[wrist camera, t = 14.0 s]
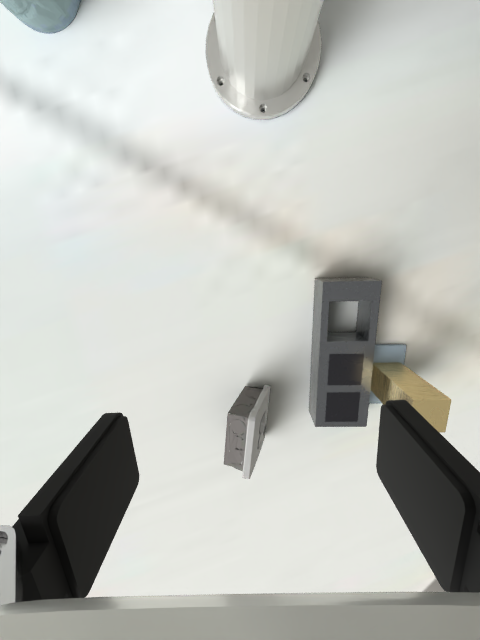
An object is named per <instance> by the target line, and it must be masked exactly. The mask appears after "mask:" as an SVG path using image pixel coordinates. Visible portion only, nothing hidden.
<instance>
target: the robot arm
mask: <svg viewBox="0 0 480 640" xmlns="http://www.w3.org/2000/svg"><path fill="white" fill-rule="evenodd" d="M323 2H324V0H213V7H214V13H213V16H212V18H211V21H210V24H209V27H208V32H207V37H206V60H207V67H208V71H209V75H210V78H211V81H212V83H213V86H214V88H215V90H216V92H217V93H218V95H219V97H220V98H221V99H222V100H223V102H224V103H225V104H226V105H227V106H228V107H229V108H231V109H232V110H233V111H235V112H236V113H238V114H240V115H242V116H244V117H247V118H251V119H257V120H266V119H271V118H276V117H278V116H280V115H283V114H285V113H287V112H288V111H289V110H291V109H292V108H294V107H295V106H296V105H297V104H298V103H299V102H300V101H301V100H302V99H303V97H304V96H305V94H306V93H307V92H308V90H309V88H310V86H311V84H312V82H313V80H314V78H315V75H316V72H317V69H318V66H319V61H320V56H321V33H320V26H319V23H318V18H319V15H320V12H321V8H322V5H323ZM304 80H306V81H307V82H304ZM220 84H223V85H221V86H220ZM261 110H264V111H265V112H264V113H263V112H261ZM376 467H377V473H378V476H379V478H380V479H381V481H382V483H383V485H384V487H385V488H386V490H387V492H388V494H389V495H390V497H391V499H392V501H393V502H394V504H395V506H396V508H397V509H398V511H399V513H400V515H401V517H402V518H403V520H404V522H405V524H406V525H407V527H408V529H409V531H410V532H411V534H412V536H413V538H414V539H415V541H416V543H417V545H418V547H419V548H420V550H421V552H422V554H423V555H424V557H425V559H426V561H427V562H428V564H429V566H430V568H431V569H432V571H433V573H434V575H435V577H436V578H437V580H438V582H439V584H440V585H441V587H442V588H443V589H444V590H445V591H446V592H353V593H275V594H216V595H168V596H125V597H92V598H85V597H86V596H87V595H88V593H89V591H90V589H91V587H92V585H93V583H94V581H95V578H96V576H97V574H98V572H99V569H100V567H101V565H102V563H103V561H104V558H105V556H106V554H107V552H108V550H109V547H110V545H111V543H112V541H113V539H114V536H115V534H116V532H117V530H118V528H119V525H120V523H121V521H122V519H123V517H124V514H125V512H126V510H127V508H128V506H129V503H130V501H131V499H132V497H133V494H134V492H135V490H136V488H137V485H138V482H139V471H138V467H137V462H136V457H135V452H134V447H133V442H132V438H131V433H130V428H129V423H128V419H127V417H125V416H123V414H122V413H105V414H104V415H102V417H101V418H100V419H99V420H98V421H97V422H96V424H95V425H94V426H93V427H92V428H91V430H90V431H89V432H88V433H87V434H86V436H85V437H84V438H83V439H82V440H81V441H80V443H79V444H78V445H77V446H76V447H75V449H74V450H73V451H72V452H71V453H70V454H69V456H68V457H67V458H66V459H65V460H64V462H63V463H62V464H61V465H60V466H59V468H58V469H57V470H56V471H55V472H54V473H53V475H52V476H51V477H50V478H49V479H48V481H47V482H46V483H45V484H44V485H43V486H42V488H41V489H40V490H39V491H38V492H37V494H36V495H35V496H34V497H33V498H32V500H31V501H30V502H29V503H28V504H27V505H26V507H25V508H24V509H23V510H22V511H21V513H20V514H19V515H18V517H19V519H18V521H17V522H16V523H15V524H14V525H13V527H11V526H9V525H0V640H480V472H479V471H478V470H477V469H476V468H475V467H474V466H473V465H472V464H471V463H470V462H469V461H468V460H466V459H465V458H464V457H463V456H462V455H461V454H460V453H459V452H458V451H457V450H456V449H455V448H454V447H453V446H452V445H451V444H450V443H449V442H448V441H447V440H446V439H445V438H444V437H443V436H442V435H441V434H440V433H439V432H438V431H437V430H436V429H435V428H434V427H433V426H432V425H431V424H430V423H429V422H428V421H427V420H426V419H425V418H424V417H423V416H422V415H421V414H420V413H419V412H418V411H417V410H416V409H415V408H414V407H413V406H412V405H411V404H409V403H408V402H407V401H406V400H388V401H386V404H385V405H382V406H381V414H380V426H379V439H378V451H377V464H376Z"/></svg>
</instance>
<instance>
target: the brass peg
mask: <svg viewBox="0 0 480 640" xmlns="http://www.w3.org/2000/svg"><path fill="white" fill-rule="evenodd" d="M370 390H371V391H372V392H373V393H374V394H375V396H376V397H377V398H378V399H379V400H380V401H381V402H382V403H383V405H385V404H386V401H388V400H406V401H407V402H408V403H409V404H411V405H412V406H413V407H414V408H415V409H416V410H417V411H418V412H419V413H420V414H421V415H422V416H423V417H424V418H425V419H426V420H427V421H428V422H429V423H430V424H431V425H432V426H433V427H434V428H435V429H436V430H437V431H438V432H445V431H446V425H447V420H448V415H449V410H450V404H451V399H450V398H448V397H447V396H446V395H444V394H443V393H442V392H440V391H439V390H437V389H436V388H435V387H433V386H432V385H431V384H429V383H428V382H426V381H425V380H424V379H422V378H421V377H420V376H418V375H417V374H415V373H414V372H413V371H411V370H410V369H408V368H407V367H406V366H404V365H403V364H402V363H400V362H387V363H373V369H372V379H371V388H370Z"/></svg>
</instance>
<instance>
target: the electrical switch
mask: <svg viewBox="0 0 480 640" xmlns="http://www.w3.org/2000/svg"><path fill="white" fill-rule="evenodd" d="M269 397H270V386H269V385H264V387H263V389H259V388H251V387H246V386H245V387H244V389H243V391H242V392H241V394H240V395H239V397H238V398H237V400H236V401H235V403H234V404H233V406H232V407H231V409H230V411H229V412H228V416H227V429H226V442H225V455H224V464H225V465H229V466H232V467H234V468H236V469H238V470H241V471H243V476H242V478H246V479H250V477H251V474H252V472H253V469H254V467H255V464H256V461H257V458H258V456H259V453H260V450H261V447H262V444H263V441H264V438H265V431H266V422H267V414H268V405H269ZM229 413H231V414H229ZM233 414H234V415H233ZM230 423H231V424H230Z"/></svg>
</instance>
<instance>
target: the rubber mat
mask: <svg viewBox="0 0 480 640" xmlns="http://www.w3.org/2000/svg"><path fill="white" fill-rule="evenodd" d="M405 353H406V345H405V344H375V350H374V360H373V363H387V362H400V363H402V364H403V365H404V360H405ZM369 403H382V402H381V401H380V400H379V399H378V398H377V397H376V396H375V394H374V393H373V392H372V391H371V390H370V398H369Z"/></svg>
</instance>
